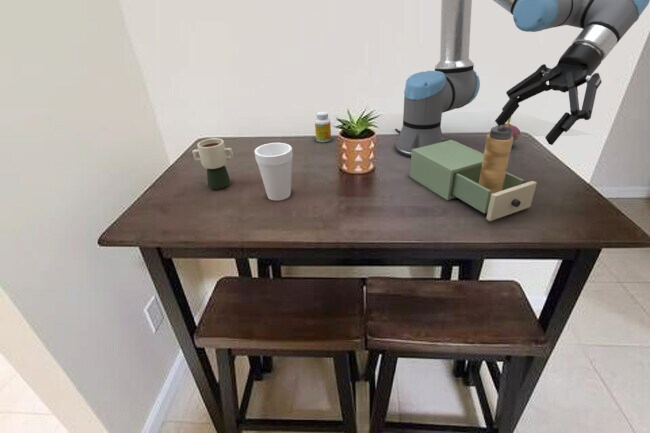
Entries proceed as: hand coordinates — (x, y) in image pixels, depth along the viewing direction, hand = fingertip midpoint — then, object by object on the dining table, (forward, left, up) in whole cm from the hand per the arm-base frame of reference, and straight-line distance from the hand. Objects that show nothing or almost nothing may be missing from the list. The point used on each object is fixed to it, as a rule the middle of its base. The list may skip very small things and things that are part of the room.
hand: (521, 132), depth 87 cm
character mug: (-45, -63, -17) cm, 79 cm away
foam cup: (-31, -50, -17) cm, 61 cm away
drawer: (0, -7, -16) cm, 17 cm away
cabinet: (-14, -7, -17) cm, 23 cm away
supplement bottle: (-62, -22, -17) cm, 68 cm away
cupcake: (-25, +25, -17) cm, 40 cm away
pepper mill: (0, -7, -15) cm, 16 cm away
